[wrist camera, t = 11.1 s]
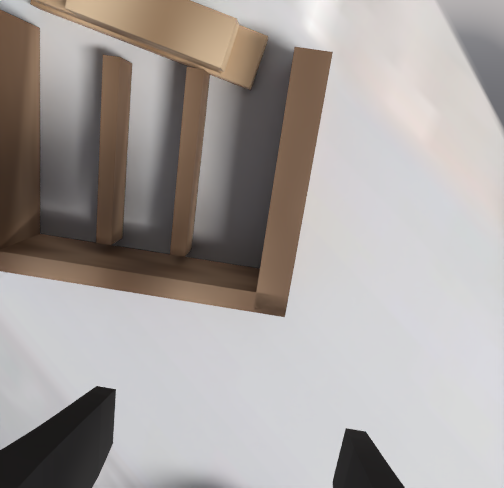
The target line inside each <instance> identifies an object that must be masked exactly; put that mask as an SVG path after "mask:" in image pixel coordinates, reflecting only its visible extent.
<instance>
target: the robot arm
mask: <svg viewBox="0 0 504 488" xmlns="http://www.w3.org/2000/svg"><path fill="white" fill-rule="evenodd" d="M115 395H116V389H111V388H105V387H99V386H96V387H95V388H93V389H92V390H91V391H89V392H88V393H86V394H85V395H83V396H82V397H80V398H79V399H78V400H76V401H75V402H73V403H72V404H71V405H69V406H68V407H66V408H65V409H63V410H62V411H61V412H59V413H58V414H56V415H55V416H53V417H52V418H50V419H49V420H47V421H46V422H44V423H43V424H41V425H40V426H38V427H37V428H35V429H34V430H32V431H31V432H29V433H28V434H26V435H24V436H23V437H21V438H19V439H18V440H16V441H15V442H13V443H11V444H10V445H8V446H7V447H5V448H3V449H2V450H0V488H92V487H93V485H94V483H95V481H96V480H97V478H98V476H99V474H100V471H101V469H102V467H103V465H104V463H105V460H106V458H107V456H108V453H109V451H110V449H111V446H112V444H113V430H114V412H115ZM333 488H405V487H404V486H403V484H402V483H401V482H400V480H399V479H398V478H397V476H396V475H395V473H394V472H393V471H392V469H391V468H390V466H389V465H388V463H387V462H386V460H385V459H384V458H383V456H382V455H381V453H380V452H379V450H378V449H377V447H376V446H375V444H374V443H373V441H372V440H371V439H370V437H369V436H368V434H367V433H366V432H364V431H358V430H353V429H347V428H346V430H345V434H344V438H343V442H342V446H341V450H340V454H339V458H338V462H337V466H336V470H335V474H334V478H333Z"/></svg>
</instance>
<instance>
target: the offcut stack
mask: <svg viewBox="0 0 504 488" xmlns="http://www.w3.org/2000/svg"><path fill="white" fill-rule="evenodd" d="M30 4H31V5H33V6H35V7H37V8H39V9H41V10H44V11H46V12H49V13H51V14H54V15H57V16H59V17H62V18H64V19H67V20H70V21H72V22H75V23H77V24H80V25H83V26H85V27H88V28H90V29H93V30H96V31H98V32H101V33H103V34H106V35H109V36H111V37H114V38H116V39H119V40H121V41H124V42H127V43H129V44H132V45H134V46H137V47H140V48H142V49H145V50H147V51H150V52H153V53H155V54H158V55H160V56H163V57H166V58H168V59H171V60H173V61H176V62H179V63H181V64H184V65H186V66H189V67H192V68H199V69H204V70H205V71H207V72H208V73H209V74H210V75H212V76H215V77H218V78H220V79H223V80H225V81H228V82H231V83H233V84H236V85H238V86H241V87H244V88H246V89H249V90H251V88H252V85H253V82H254V79H255V76H256V73H257V70H258V67H259V64H260V62H261V59H262V56H263V53H264V50H265V47H266V44H267V41H268V36H266V35H264V34H261V33H259V32H256V31H253V30H251V29H248V28H246V27H243V26H241V25H239V24H238V21H237V19H236V18H234V17H231V16H229V15H226V14H223V13H221V12H218V11H216V10H213V9H211V8H208V7H205V6H203V5H200V4H198V3H195V2H193V1H190V0H31V3H30Z"/></svg>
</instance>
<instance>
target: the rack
mask: <svg viewBox="0 0 504 488" xmlns="http://www.w3.org/2000/svg"><path fill="white" fill-rule="evenodd" d="M332 53H333V52H328V51H321V50H314V49H307V48H300V47H295V48H294V55H293V61H292V67H291V74H290V80H289V86H288V93H287V99H286V106H285V112H284V118H283V125H282V131H281V137H280V144H279V150H278V157H277V163H276V169H275V176H274V182H273V189H272V195H271V201H270V208H269V214H268V221H267V227H266V233H265V240H264V246H263V253H262V259H261V265H260V269H259V268H253V267H247V266H241V265H234V264H228V263H222V262H215V261H209V260H203V259H196V258H190V257H185V256H186V255H187V254H188V253H189V251H190V250H191V249H192V240H193V230H194V221H195V211H196V202H197V192H198V183H199V173H200V164H201V154H202V145H203V135H204V126H205V116H206V107H207V97H208V88H209V78H210V74H209V73H208V72H207V71H205V70H204V69H199V68H192V67H187V70H186V81H185V92H184V103H183V114H182V125H181V136H180V147H179V159H178V170H177V181H176V192H175V203H174V214H173V225H172V236H171V247H170V254H165V253H158V252H152V251H146V250H139V249H133V248H127V247H120V246H114V245H112V244H114V243H115V242H117V241H119V240H120V239H122V237H123V219H124V201H125V183H126V165H127V147H128V129H129V111H130V93H131V75H132V63H130V62H128V61H126V60H124V59H123V58H121V57H115V56H108V55H103V66H102V94H101V121H100V148H99V175H98V202H97V230H96V243H95V242H89V241H82V240H76V239H70V238H63V237H57V236H51V235H44V234H40V28H38V27H36V26H34V25H32V24H30V23H28V22H26V21H23V20H21V19H19V18H17V17H15V16H13V15H11V14H9V13H6V12H4V11H2V10H0V271H3V272H9V273H15V274H21V275H28V276H34V277H40V278H46V279H52V280H59V281H65V282H71V283H77V284H83V285H90V286H96V287H102V288H108V289H114V290H120V291H127V292H133V293H139V294H145V295H151V296H158V297H164V298H170V299H176V300H182V301H189V302H195V303H201V304H207V305H213V306H219V307H226V308H232V309H238V310H244V311H250V312H257V313H263V314H269V315H275V316H281V317H285V313H286V307H287V302H288V296H289V290H290V285H291V279H292V274H293V268H294V263H295V257H296V252H297V246H298V241H299V235H300V230H301V224H302V219H303V213H304V207H305V202H306V196H307V191H308V185H309V180H310V174H311V169H312V163H313V158H314V152H315V147H316V141H317V136H318V130H319V124H320V119H321V113H322V108H323V102H324V97H325V91H326V86H327V80H328V75H329V69H330V64H331V58H332Z"/></svg>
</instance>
